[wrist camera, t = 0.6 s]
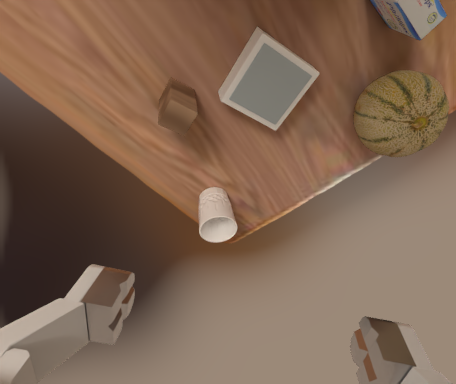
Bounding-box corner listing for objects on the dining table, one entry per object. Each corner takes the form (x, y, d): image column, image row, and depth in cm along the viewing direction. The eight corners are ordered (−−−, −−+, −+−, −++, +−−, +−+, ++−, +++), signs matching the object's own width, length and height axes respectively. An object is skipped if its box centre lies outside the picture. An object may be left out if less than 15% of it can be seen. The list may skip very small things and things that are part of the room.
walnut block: (170, 77, 51) (170, 99, 44) (194, 89, 53) (198, 113, 46) (159, 99, 53) (157, 124, 46) (182, 111, 55) (184, 136, 48)
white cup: (226, 211, 73) (232, 243, 65) (193, 209, 71) (196, 242, 64) (233, 185, 68) (241, 217, 61) (198, 183, 66) (202, 215, 59)
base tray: (257, 26, 48) (263, 33, 44) (311, 65, 53) (320, 73, 50) (217, 91, 53) (220, 101, 50) (270, 120, 59) (276, 131, 56)
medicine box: (363, -8, 47) (394, 2, 40) (388, -35, 45) (425, -30, 38) (388, 28, 51) (420, 42, 44) (412, 4, 49) (449, 15, 42)
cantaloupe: (377, 140, 66) (420, 183, 54) (325, 118, 60) (361, 160, 49) (431, 77, 58) (494, 112, 46) (376, 44, 52) (433, 75, 41)
